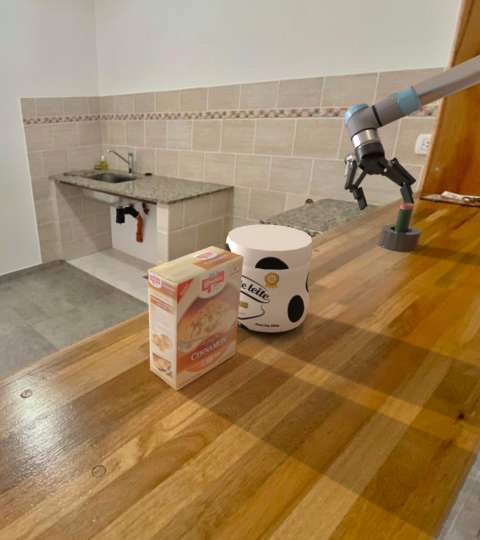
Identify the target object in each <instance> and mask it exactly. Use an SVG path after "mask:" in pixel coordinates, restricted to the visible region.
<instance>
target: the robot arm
mask: <svg viewBox="0 0 480 540" xmlns="http://www.w3.org/2000/svg"><path fill="white" fill-rule="evenodd" d="M476 84H477V85H478V84H480V54H479V55H477V56H475V57H472V58H470V59H468V60H466V61H463V62H461V63H459V64H457V65H455V66H452V67H450V68H448V69H446V70H444V71H442V72H439V73H437V74H435V75H433V76H431V77H428V78H426V79H424V80H421V81H420V82H417V83H416V84H412V85H410V86H409V87H407V88H404V89H402V90H399V91H398V92H394V93H393V94H391V95H389V96H387V98H384V99H382V100H381V101H378V102H377V103H375V104H372V105H368V103H365V102H364V103H363V102H362V103H359V104H355V105H353V106H351V107H350V108H349V109H347V111H346V112H345V114H344V116H343V117H344V122H345V128H346V130H347V133H348V136H349V139H350V143H351V146H352V149H353V152H354V156H355V159H353V160H351V162H350V163H349V164H348V173H347V177H346V181H345V184H344V186H343V189H344V190H345V191H349V193H350V194H352V197H353V199H354V200H356V201H357V204H358V207H359V208H358V209H359V211H364V210H365V209H366V208H367V207H368V203H367V198H366V196H365V192H364V189H363V186H361V184H362V182H363V181H364V179H365V178H366V176H367V175H369V176H373V175H375V176H379V175H381V176H382V177H385V178H387V179H388V180H390V181H392V182H393V183H394V184H395V185H397V186H399V187H400V188H399V192H400V194H401V197H402V200H403V203H412V204H414V205H415V200H414V198H413V195H414V191H413V189H412V185H414V184H415V183H416V182H417V179H416V178H415V177H414V176H413V175H412V174H411V173H410V172H409V170H407V169H406V168H405V167H404V166H403V165H402V164H401V163H400V162H399V160H398V158H397V157H393V158H392V159H387V158H386V152H385V148H384V145H383V144H382V139H381V136H380V134H379V131H378V129H380V128H383V127H385V126H386V125H389V124H391V123H393V122H396V121H398V120H400V119H402V118H405V117H407V116H410V115H412V114H413V113H416V112H418V111H419V110H420V109H421V108H423V107H424V106H427V105H429V104H432V103H435V102H436V101H439V100H441V99H445V98H446V97H449V96H451V95H454V94H456V93H458V92H461V91H463V90H466V89H467V88H470V87H474V86H475V85H476ZM358 168H359V169H360V170H361V172H360V174H359V176H358V177H357V179H356V180H355V176H356V173H357V171H358ZM354 180H355V181H354Z"/></svg>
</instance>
